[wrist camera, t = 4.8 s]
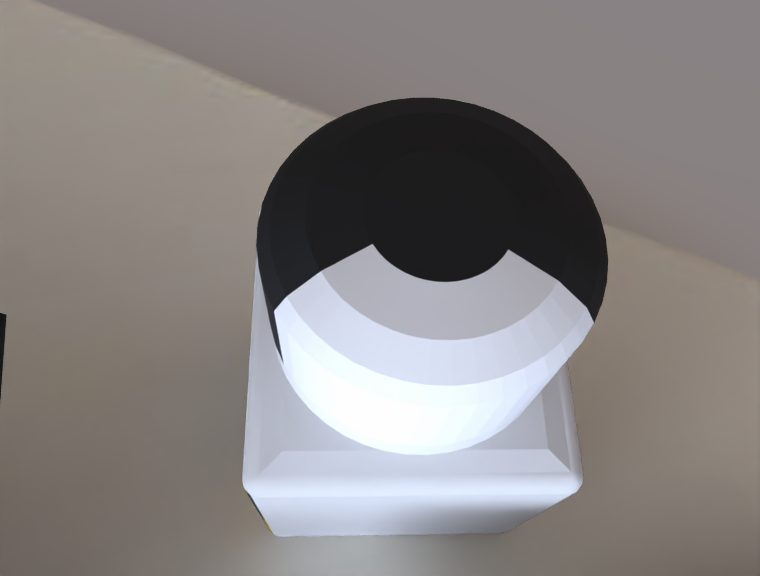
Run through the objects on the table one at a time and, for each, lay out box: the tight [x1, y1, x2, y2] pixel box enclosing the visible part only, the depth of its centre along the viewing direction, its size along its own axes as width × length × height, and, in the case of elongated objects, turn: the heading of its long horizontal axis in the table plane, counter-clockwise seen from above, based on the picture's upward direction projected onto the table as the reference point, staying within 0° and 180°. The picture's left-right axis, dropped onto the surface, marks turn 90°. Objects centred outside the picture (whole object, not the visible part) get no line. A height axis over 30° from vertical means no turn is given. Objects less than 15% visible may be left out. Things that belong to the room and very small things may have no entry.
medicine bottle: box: [242, 98, 608, 537], centre depth 17 cm, size 7×7×12 cm
